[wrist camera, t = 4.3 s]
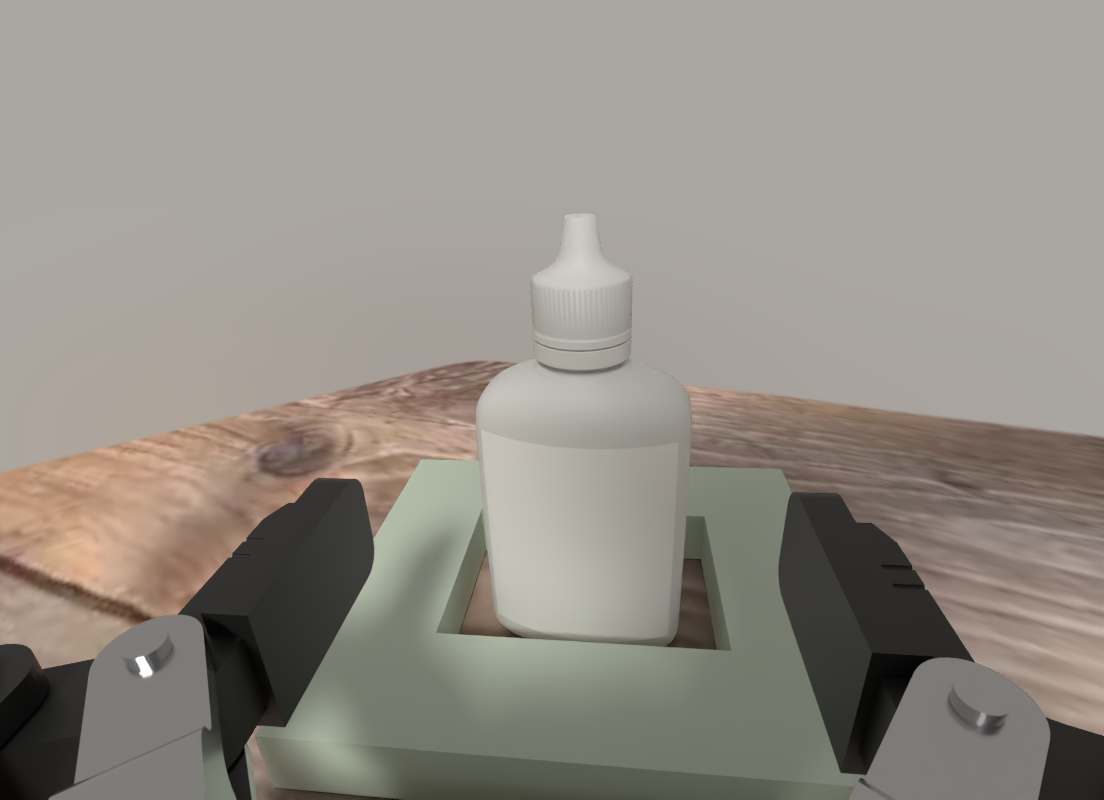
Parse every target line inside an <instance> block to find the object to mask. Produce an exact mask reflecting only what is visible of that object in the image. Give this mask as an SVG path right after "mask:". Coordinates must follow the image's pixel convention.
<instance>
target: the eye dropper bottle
mask: <svg viewBox="0 0 1104 800" xmlns="http://www.w3.org/2000/svg"><path fill="white" fill-rule="evenodd" d="M530 287H531V306H532V324H533V342H534V356H535V359H532V360H528V361H525V362H522V363H519V364H516V365H514V366H511V367H509V368H508V369H506V370H504V371H502V372H500V373H499V374H498V375H497V376H496V377H495V378H494V379H493V380H492V381H491V382H490V383H489V384H488V386H487V387H486V389H485V390H484V391H483V393H482V395H481V397H480V399H479V401H478V404H477V408H476V433H477V446H478V459H479V470H480V480H481V490H482V501H483V511H484V521H485V531H486V541H487V551H488V560H489V570H490V580H491V589H492V599H493V608H494V614H495V616H496V618H497V619H498V620H499V622H500V623H501V624H502V625H503V626H504V627H505V628H507V629H508V630H510V631H511V632H513V633H515V634H517V635H519V636H521V637H523V638H527V639H543V640H560V641H577V642H593V643H610V644H626V645H643V646H659V647H665V646H666V645H668V644H670V643H671V642H672V641H673V639H674V637H675V635H676V633H677V631H678V626H679V613H680V600H681V586H682V571H683V557H684V542H685V528H686V513H687V498H688V482H689V467H690V448H691V428H692V422H691V402H690V398H689V394H688V392H687V391H686V389H685V388H684V387H683V386H682V384H681V383H680V382H679V381H678V380H676V379H675V378H674V377H672V376H670V375H668V374H667V373H665V372H663V371H661V370H659V369H656V368H654V367H652V366H649V365H647V364H644V363H641V362H638V361H636V360H633V359H630V358H629V356H630V355H631V322H632V321H631V320H632V318H631V317H632V276H631V275H630V274H629V273H628V272H627V271H625V270H623V269H621V268H618V267H616V266H614V265H612V264H610V263H609V262H608V261H607V260H606V258H605V256H604V255H603V252H602V248H601V243H600V238H599V232H598V227H597V222H596V216H595V215H594V214H588V213H586V214H585V213H579V214H569V215H566V216H565V218H564V224H563V231H562V238H561V244H560V250H559V255H558V257H557V259H556V261H555V262H554V263H553V264H552V265H551V266H550V267H548V268H546V269H544V270H542V271H540V272H538V273H536V274H535V275H534V276H533V277H532V279H531V281H530Z"/></svg>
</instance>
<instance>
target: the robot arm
mask: <svg viewBox="0 0 1104 800" xmlns="http://www.w3.org/2000/svg"><path fill="white" fill-rule="evenodd" d="M232 554H233V556H232V558H228V559H227V560H226V561H225V562H224V563H223V565H222V566H221V567H220V568H219V569H218V570H217V571H216V572H215V573H214V575H213V576H212V577H211V578H210V579H209V580H208V581H207V582H206V583H205V585H204V586H203V587H202V588H201V589H200V590H199V591H198V592H197V593H196V595H195V596H194V597H193V598H192V599H191V600H190V601H189V602H188V603H187V605H186V606H185V607H184V608H183V609H182V610H181V611H180V612H179V613H178V615H167V616H162V617H157V618H154V619H151V620H148V621H146V622H143V623H141V624H138V625H136V626H134V627H132V628H130V629H129V630H127V631H125V632H124V633H122V634H121V635H119V636H118V637H116V638H115V639H114V640H112V641H111V642H110V643H109V644H108V645H107V646H106V647H105V648H104V649H103V650H102V651H101V652H100V653H99V654H98V656H97V657H96V658H95V659H92V660H87V661H82V662H76V663H71V664H66V665H61V666H56V667H51V668H46V669H42V668H41V666H40V665H39V663H38V661H37V659H36V657H35V656H34V654H33V652H32V651H31V649H30V648H28V647H27V646H24V645H20V644H4V645H0V800H257V794H256V787H255V780H254V774H253V767H252V760H251V754H250V750H249V747H248V745H247V741H248V739H249V738H250V736H251V734H252V733H253V731H254V729H255V728H256V726H257V725H260V726H272V727H286V725H287V723H288V722H289V720H290V718H291V716H292V714H293V713H294V711H295V709H296V707H297V705H298V704H299V702H300V700H301V698H302V696H303V695H304V693H305V691H306V689H307V687H308V686H309V684H310V682H311V680H312V678H313V677H314V675H315V673H316V671H317V669H318V668H319V666H320V664H321V662H322V660H323V658H324V657H325V655H326V653H327V651H328V649H329V648H330V646H331V644H332V642H333V640H334V639H335V637H336V635H337V633H338V631H339V630H340V628H341V626H342V624H343V622H344V621H345V619H346V617H347V615H348V613H349V612H350V610H351V608H352V606H353V604H354V603H355V601H356V599H357V597H358V595H359V594H360V592H361V590H362V588H363V586H364V585H365V583H366V581H367V579H368V577H369V575H370V573H371V570H372V566H373V561H374V541H373V536H372V531H371V526H370V521H369V516H368V511H367V507H366V502H365V497H364V492H363V488H362V485H361V483H360V482H359V481H358V480H357V479H337V478H317V479H315V480H314V481H313V482H312V483H311V484H310V485H309V487H308V488H307V489H306V490H305V491H304V492H303V494H302V495H301V496H300V497H299V498H298V499H297V501H296V502H295V503H288V504H286V505H284V506H283V507H281V508H280V509H278V510H277V511H275V512H274V513H272V514H270V515H269V516H267V517H266V518H264V519H263V520H262V521H261V522H260V523H259V525H258V526H257V527H256V528H255V529H254V530H253V531H252V532H251V533H250V535H249V536H248V537H247V540H246V542H242V543H241V545H240V546H239V547H238V548H237V549H236V550H235V551H234V552H233V553H232ZM778 577H779V586H780V592H781V596H782V599H783V602H784V605H785V608H786V611H787V614H788V617H789V620H790V623H791V626H792V629H793V632H794V635H795V638H796V641H797V644H798V647H799V650H800V653H801V656H802V659H803V662H804V665H805V668H806V671H807V674H808V677H809V680H810V683H811V686H812V689H813V692H814V695H815V698H816V701H817V704H818V707H819V710H820V713H821V716H822V719H823V722H824V725H825V728H826V731H827V734H828V737H829V740H830V743H831V746H832V749H833V752H834V755H835V758H836V761H837V764H838V767H839V770H840V773H847V774H860V775H866V777H865V779H862V778H860V779H859V781H858V782H857V784H856V785H855V787H854V789H853V791H852V793H851V795H850V797H849V799H848V800H1104V736H1102V735H1098V734H1095V733H1092V732H1089V731H1085V730H1082V729H1079V728H1075V727H1072V726H1069V725H1066V724H1063V723H1060V722H1057V721H1054V720H1051V719H1049V718H1047V717H1045V715H1044V714H1043V712H1042V711H1041V709H1040V708H1039V706H1038V705H1037V704H1036V703H1035V701H1034V700H1033V699H1032V698H1031V697H1030V696H1029V695H1028V694H1027V693H1026V692H1025V691H1024V690H1023V689H1022V688H1020V687H1019V686H1018V685H1016V684H1015V683H1014V682H1012V681H1011V680H1009V679H1008V678H1006V677H1005V676H1003V675H1001V674H1000V673H998V672H996V671H994V670H992V669H990V668H987V667H985V666H983V665H980V664H977V663H975V662H974V660H973V659H972V657H971V656H970V654H969V653H968V651H967V649H966V648H965V646H964V645H963V643H962V642H961V640H960V639H959V637H958V636H957V634H956V633H955V631H954V629H953V628H952V626H951V625H950V623H949V622H948V620H947V619H946V617H945V616H944V614H943V613H942V611H941V610H940V608H939V606H938V605H937V603H936V602H935V600H934V599H933V597H932V596H931V594H930V593H929V591H928V590H925V588H924V583H923V582H922V580H921V579H920V577H919V576H918V574H917V573H916V571H915V570H912V565H911V563H910V562H909V560H908V559H907V557H906V556H905V554H904V553H903V551H902V550H901V548H900V547H899V545H898V544H897V543H896V542H895V541H894V540H893V539H891V538H890V537H889V536H888V535H886V534H885V533H884V532H882V531H881V530H880V529H879V528H877V527H876V526H875V525H873V524H872V523H856V522H855V520H854V518H853V517H852V515H851V513H850V511H849V510H848V508H847V506H846V505H845V503H844V501H843V499H842V498H841V496H840V495H839V494H837V493H804V492H793V493H792V494H791V495H790V497H789V500H788V505H787V512H786V518H785V524H784V531H783V537H782V544H781V550H780V556H779V565H778Z"/></svg>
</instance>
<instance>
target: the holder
mask: <svg viewBox="0 0 1104 800" xmlns="http://www.w3.org/2000/svg"><path fill="white" fill-rule="evenodd" d="M791 494H792V492H791V489H790V487H789V485H788V483H787V481H786V478H785V476H784V474H783V472H782V469H770V468H731V467H693V466H690V467H689V482H688V498H687V513H686V528H685V542H684V557H683V559H701V563H702V569H703V575H704V580H705V586H706V592H707V598H708V603H709V609H710V615H711V621H712V627H713V632H714V638H715V644H716V650H709V649H692V648H676V647H659V646H643V645H626V644H610V643H593V642H577V641H560V640H543V639H527V638H510V637H494V636H477V635H461V634H459V632H460V629H461V626H462V623H463V620H464V617H465V614H466V611H467V608H468V605H469V601H470V598H471V595H472V592H473V589H474V586H475V583H476V580H477V577H478V574H479V571H480V568H481V564H482V561H483V558H484V555H485V552H486V550H487V541H486V531H485V521H484V511H483V501H482V490H481V480H480V470H479V461H460V460H422V459H421V461H420V463H419V464H418V466H417V468H416V469H415V471H414V473H413V474H412V476H411V478H410V479H409V481H408V483H407V484H406V486H405V488H404V489H403V491H402V493H401V494H400V496H399V498H398V499H397V501H396V503H395V504H394V506H393V508H392V509H391V511H390V513H389V514H388V516H387V518H386V519H385V521H384V523H383V524H382V526H381V527H380V529H379V531H378V532H377V534H376V536H375V537H374V539H373V541H374V561H373V566H372V570H371V573H370V575H369V577H368V579H367V581H366V583H365V585H364V586H363V588H362V590H361V592H360V594H359V595H358V597H357V599H356V601H355V603H354V604H353V606H352V608H351V610H350V612H349V613H348V615H347V617H346V619H345V621H344V622H343V624H342V626H341V628H340V630H339V631H338V633H337V635H336V637H335V639H334V640H333V642H332V644H331V646H330V648H329V649H328V651H327V653H326V655H325V657H324V658H323V660H322V662H321V664H320V666H319V668H318V669H317V671H316V673H315V675H314V677H313V678H312V680H311V682H310V684H309V686H308V687H307V689H306V691H305V693H304V695H303V696H302V698H301V700H300V702H299V704H298V705H297V707H296V709H295V711H294V713H293V714H292V716H291V718H290V720H289V722H288V723H287V725H286V727H272V726H261V727H260V729H259V730H258V732H257V734H256V735H255V738H256V740H257V743H258V746H259V749H260V751H261V754H262V757H263V759H264V762H265V765H266V767H267V770H268V773H269V776H270V778H271V781H272V784H273V786H274V787H275V788H286V789H296V790H307V791H317V792H328V793H339V794H349V795H360V796H370V797H381V798H391V799H402V800H848V799H849V797H850V795H851V793H852V791H853V789H854V787H855V785H856V784H857V782H858V781H859V779H860V778H862V779H865V777H866V775H860V774H847V773H840V770H839V767H838V764H837V761H836V758H835V755H834V752H833V749H832V746H831V743H830V740H829V737H828V734H827V731H826V728H825V725H824V722H823V719H822V716H821V713H820V710H819V707H818V704H817V701H816V698H815V695H814V692H813V689H812V686H811V683H810V680H809V677H808V674H807V671H806V668H805V665H804V662H803V659H802V656H801V653H800V650H799V647H798V644H797V641H796V638H795V635H794V632H793V629H792V626H791V623H790V620H789V617H788V614H787V611H786V608H785V605H784V602H783V599H782V596H781V592H780V586H779V577H778V565H779V556H780V550H781V544H782V537H783V531H784V524H785V518H786V512H787V505H788V500H789V497H790V495H791Z"/></svg>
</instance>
